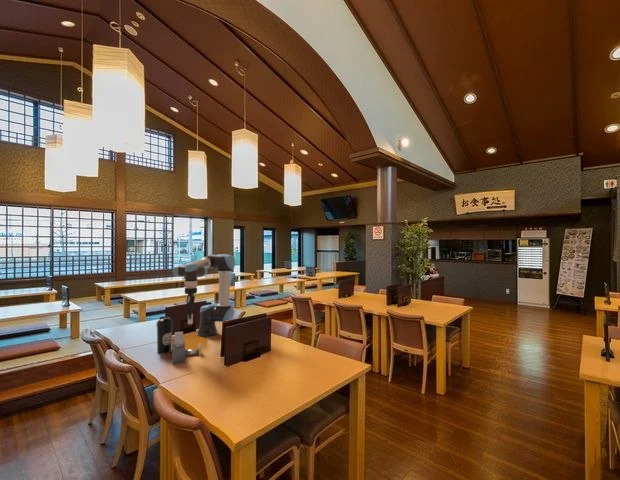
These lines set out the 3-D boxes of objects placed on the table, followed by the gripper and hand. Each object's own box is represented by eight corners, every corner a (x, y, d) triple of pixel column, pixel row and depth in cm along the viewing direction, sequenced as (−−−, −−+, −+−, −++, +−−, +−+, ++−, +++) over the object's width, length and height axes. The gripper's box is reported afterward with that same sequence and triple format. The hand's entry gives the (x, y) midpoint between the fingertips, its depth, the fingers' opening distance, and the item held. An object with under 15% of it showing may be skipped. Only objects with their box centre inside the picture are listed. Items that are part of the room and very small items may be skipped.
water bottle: (160, 355, 200) (161, 319, 200) (153, 351, 206) (153, 317, 206) (175, 351, 208) (176, 317, 208) (167, 347, 214) (168, 314, 214)
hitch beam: (172, 352, 205) (172, 336, 205) (183, 351, 208) (183, 335, 208) (172, 364, 185) (172, 346, 185) (184, 362, 188) (185, 345, 188)
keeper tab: (174, 345, 191) (174, 332, 191) (182, 344, 193) (183, 331, 193) (174, 346, 189) (174, 332, 190) (183, 345, 192) (183, 331, 192)
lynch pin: (200, 352, 206) (200, 343, 206) (201, 355, 200) (201, 346, 200) (183, 354, 202) (183, 345, 202) (184, 357, 195) (184, 348, 196)
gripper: (187, 286, 205) (186, 321, 205) (182, 288, 193) (181, 326, 192) (199, 286, 207) (198, 321, 206) (194, 288, 194) (193, 326, 193)
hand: (190, 323), depth 199 cm, fingers closed
